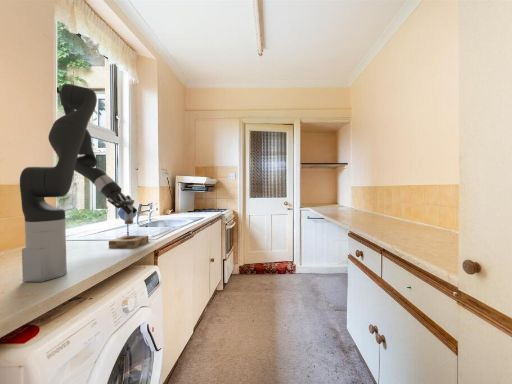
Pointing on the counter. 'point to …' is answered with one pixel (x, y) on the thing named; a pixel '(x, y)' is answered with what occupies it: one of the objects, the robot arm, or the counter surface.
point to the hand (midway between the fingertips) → (132, 212)
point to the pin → (130, 216)
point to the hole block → (128, 242)
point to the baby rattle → (121, 215)
